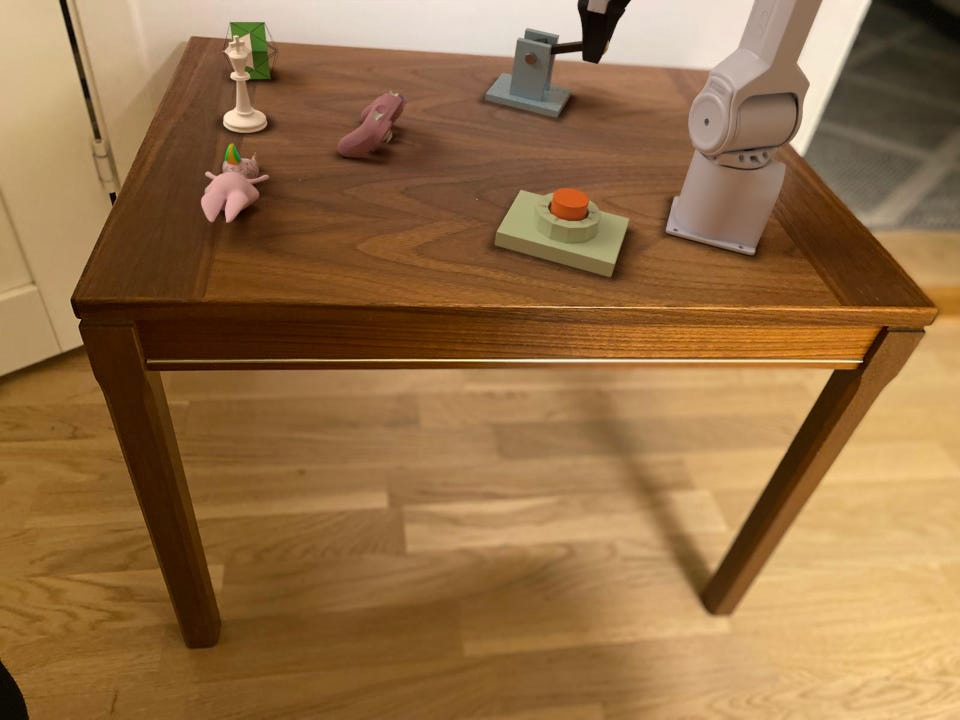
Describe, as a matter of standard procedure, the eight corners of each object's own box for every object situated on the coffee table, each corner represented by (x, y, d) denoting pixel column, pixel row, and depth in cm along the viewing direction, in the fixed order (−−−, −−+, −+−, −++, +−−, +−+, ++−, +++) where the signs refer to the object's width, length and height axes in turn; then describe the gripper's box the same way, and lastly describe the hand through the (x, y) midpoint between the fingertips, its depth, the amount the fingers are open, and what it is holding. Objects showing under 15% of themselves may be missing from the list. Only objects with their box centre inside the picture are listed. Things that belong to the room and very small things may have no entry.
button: (588, 208, 76) (592, 193, 74) (581, 226, 73) (585, 210, 72) (554, 199, 76) (557, 184, 75) (546, 216, 74) (549, 201, 72)
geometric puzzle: (220, 43, 98) (216, 5, 90) (274, 43, 100) (274, 5, 92) (227, 94, 97) (224, 60, 89) (281, 92, 99) (282, 59, 91)
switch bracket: (570, 97, 103) (582, 36, 97) (556, 120, 97) (569, 56, 92) (501, 80, 104) (509, 19, 99) (484, 102, 99) (492, 38, 93)
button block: (625, 232, 79) (634, 203, 77) (610, 278, 73) (619, 248, 70) (518, 203, 81) (523, 174, 79) (494, 245, 74) (498, 215, 72)
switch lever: (612, 51, 95) (609, 26, 93) (607, 59, 93) (605, 34, 91) (530, 60, 99) (526, 37, 97) (524, 68, 97) (520, 44, 95)
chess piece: (215, 119, 87) (203, 31, 80) (253, 110, 90) (245, 25, 83) (236, 136, 85) (226, 48, 78) (275, 127, 87) (268, 40, 80)
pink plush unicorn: (215, 178, 80) (185, 237, 68) (210, 123, 77) (177, 174, 64) (275, 181, 81) (256, 240, 69) (272, 127, 78) (251, 178, 65)
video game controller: (367, 176, 84) (395, 130, 80) (332, 152, 83) (359, 104, 79) (391, 138, 92) (419, 94, 87) (360, 116, 90) (386, 70, 86)
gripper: (597, -83, 91) (575, 31, 100) (572, -57, 81) (550, 67, 90) (654, -71, 90) (626, 42, 99) (636, -43, 80) (607, 81, 89)
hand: (594, 55), depth 95 cm, fingers open, 4 cm apart
